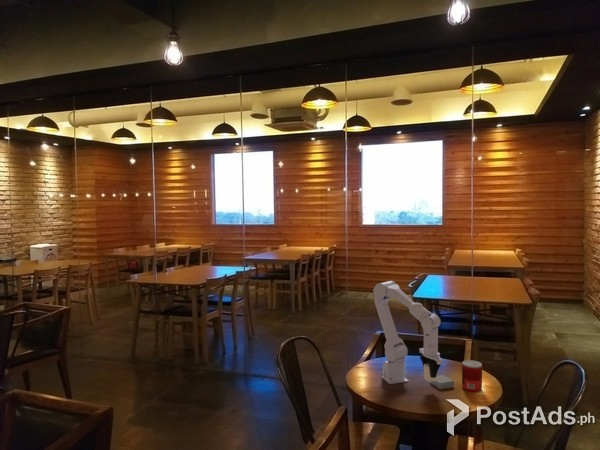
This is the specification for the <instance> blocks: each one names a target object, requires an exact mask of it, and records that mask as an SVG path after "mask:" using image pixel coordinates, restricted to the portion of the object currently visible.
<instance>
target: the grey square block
mask: <svg viewBox="0 0 600 450" xmlns="http://www.w3.org/2000/svg"><path fill="white" fill-rule="evenodd" d="M429 383H430V384H431V385H432V386H434V387H435V388H437V389H439V390H444V389H450V388H454V387H455V381H454V380H453V379H451V378H450V377H448V376H446V375H445V374H442V375H437V381H431V382H429Z"/></svg>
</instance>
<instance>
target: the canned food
mask: <svg viewBox="0 0 600 450" xmlns="http://www.w3.org/2000/svg"><path fill="white" fill-rule="evenodd" d="M461 387H462V389H463V390H464V391H467V392H471V393H479V392H481V391H482V389H483V364H482V362H480V361H477V360H472V359H471V360H470V359H468V360H463V361H462V363H461Z"/></svg>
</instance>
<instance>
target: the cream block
mask: <svg viewBox="0 0 600 450" xmlns="http://www.w3.org/2000/svg"><path fill="white" fill-rule="evenodd" d="M437 376H438V372H437V375H436V377H435V378H431V376H430V368H429V364H424V367H423V379H424V380H426V381H427V382H429V383H430V382H431V381H437Z"/></svg>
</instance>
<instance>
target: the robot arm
mask: <svg viewBox="0 0 600 450" xmlns="http://www.w3.org/2000/svg"><path fill="white" fill-rule="evenodd" d="M372 292H373V294H374V305H375V308H376V312H377V314H378V317H379V321H380V323H381V326H382V329H383V333H384V336H385V340H386V341H385V343H384V346H383V347H384V356H385V359H387V360H385V361H383V362H382V372H381V374H382V376H381V378H382V379H383V380H384V381H385V382H386V383H388V384H390V385H393V384H400V383H406V382H407V383H408V382H409V379H407V378H406V375H405V372H406V371H405V370H406V369H405V367H406V363H405V360H406V357H407V356H408V353H409V349H408V347H407V346H406V344H405V343H404V339H402V338H401V337H399V334H398V332H397V329H396V326H395V321H394V320H393V317H392V313H391V310H390V307H389V301H390V300H391V298H392V299H393V298H395V300H398V302H400V303H401V304H403V305H404V306H405V307H406V308H408V310H409V313H410V314H411V315H412V316H413V317H414V318H415V319H416V320H418V321H419V322H420V324H421V327H422V329H423V330H422V332H423V347H421V348H419V352H418V353H420V354H422V355H419V359H420V361H421V363H422V366H423V368H424V364H429V368H430V376H431V378H435V377H436V375H437V376H438V373H437V372H438V371H439V369H440V367H441V366H442V365H443V362H444V361H443V358H442V357H441V356H440V355H441V353H440V352H439V350H438V349H439V327H440V325H441V323H442V322H441V317H440V316H438V314H437V313H432V312H431V311H430V310H428V309H427V308H426V307H424V305H423V304H422V303H421V302H415V301H414V300H413V299H411V298H410V297H409V295H407V294H406V293H405V292H404V291H403V290H402V289H401V288H400V286H399V284H397V282H395V281H393V280H388V281H384V282H378V283H376V285H375V286H374V288H373V289H372Z"/></svg>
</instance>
